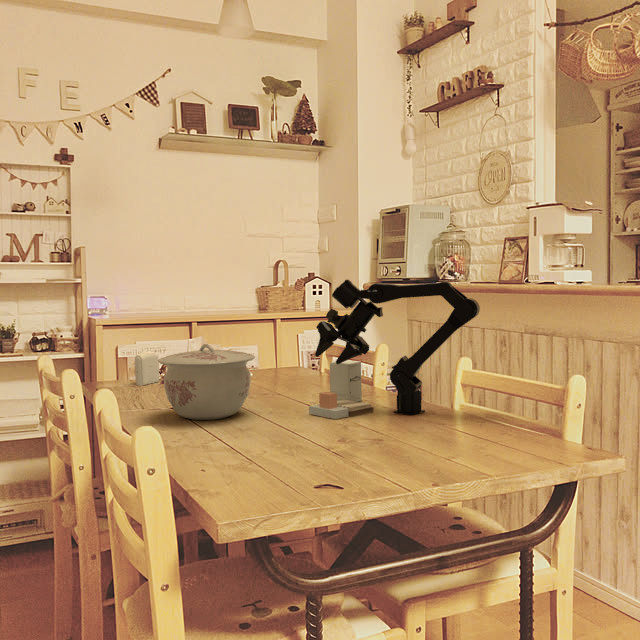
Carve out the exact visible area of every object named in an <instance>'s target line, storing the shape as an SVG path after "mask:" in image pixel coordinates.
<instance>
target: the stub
mask: <svg viewBox="0 0 640 640" xmlns="http://www.w3.org/2000/svg"><path fill="white" fill-rule="evenodd" d="M318 396H319V398H318V399H319V404H317V403H316V404H313V405H309V406H308V414H309V415H314V416H318V417H323V418H329V419H333V420H337V419H342V418H347V417H348V408H343V407H337V393H332V392H330V391H324V392H319V393H318ZM348 418H349V417H348Z"/></svg>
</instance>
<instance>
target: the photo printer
mask: <svg viewBox="0 0 640 640" xmlns="http://www.w3.org/2000/svg"><path fill="white" fill-rule="evenodd" d="M158 360H159V354H158V353H157V352H156V351H149V350H145V351H141V352H139V353H137V354H136V355H135V356H134V371H135V384H136V386H139V387H140V386H142V387H143V386H146V385H150V384H155V383H159V382H160V363H159V362H158Z"/></svg>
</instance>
